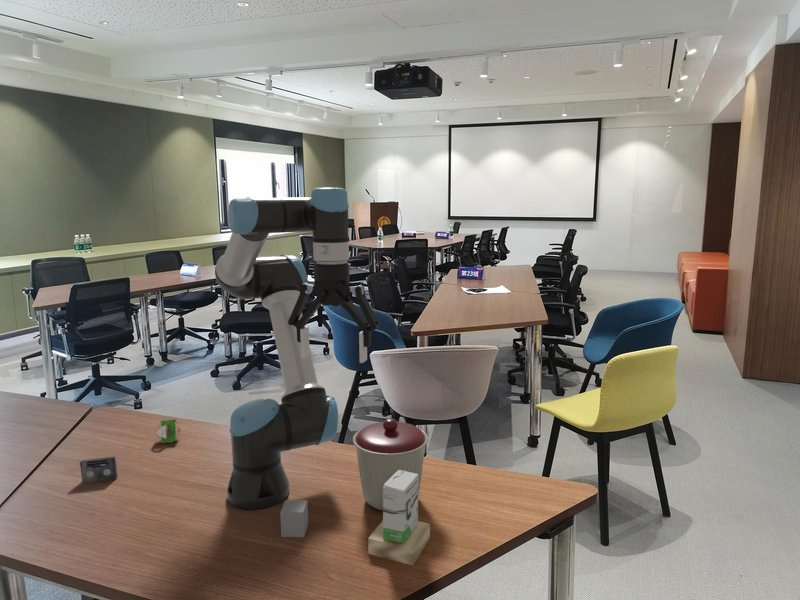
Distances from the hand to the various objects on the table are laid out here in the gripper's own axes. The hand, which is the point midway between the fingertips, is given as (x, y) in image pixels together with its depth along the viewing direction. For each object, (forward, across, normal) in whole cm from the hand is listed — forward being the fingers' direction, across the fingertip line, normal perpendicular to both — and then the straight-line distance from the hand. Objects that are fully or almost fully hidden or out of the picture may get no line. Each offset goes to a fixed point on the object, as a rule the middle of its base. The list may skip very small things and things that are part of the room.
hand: (334, 359), depth 124 cm
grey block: (+39, -8, -6) cm, 40 cm away
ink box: (+35, +16, -5) cm, 39 cm away
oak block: (+39, +16, -5) cm, 43 cm away
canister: (+39, +9, +12) cm, 42 cm away
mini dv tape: (+39, -68, +1) cm, 79 cm away
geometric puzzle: (+39, -67, +27) cm, 82 cm away
